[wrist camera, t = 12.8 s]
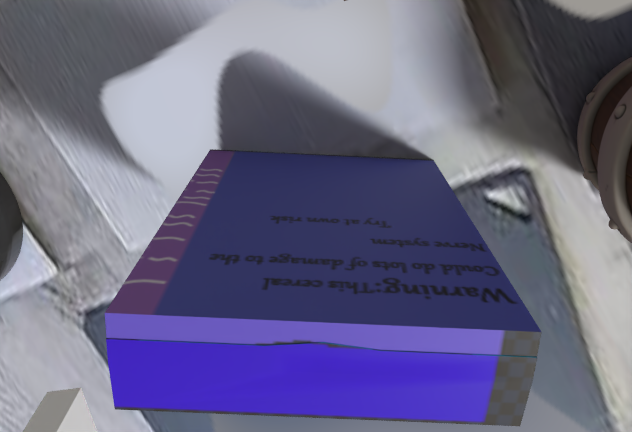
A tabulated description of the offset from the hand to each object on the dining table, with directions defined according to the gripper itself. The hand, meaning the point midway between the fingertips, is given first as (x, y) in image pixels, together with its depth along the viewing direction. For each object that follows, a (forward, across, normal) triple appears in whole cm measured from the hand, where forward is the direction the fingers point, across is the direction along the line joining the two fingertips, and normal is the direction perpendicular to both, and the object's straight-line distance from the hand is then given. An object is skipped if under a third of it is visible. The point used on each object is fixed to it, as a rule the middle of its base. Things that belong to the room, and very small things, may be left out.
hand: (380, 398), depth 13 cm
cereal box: (+33, -2, -6) cm, 34 cm away
